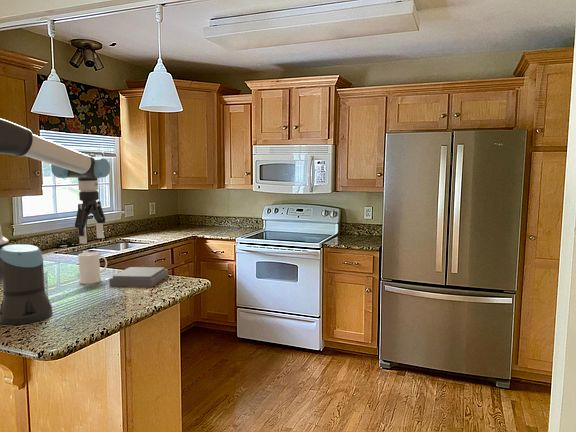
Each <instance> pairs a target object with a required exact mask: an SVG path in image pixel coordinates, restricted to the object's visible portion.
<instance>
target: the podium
mask: <svg viewBox="0 0 576 432" xmlns="http://www.w3.org/2000/svg"><path fill="white" fill-rule="evenodd" d="M167 277H169V268H165V267H162V266H161V267H160V266H159V267H157V266H156V267H152V266H151V267H150V266H146V267H145V266H129V267H127V268H125V269H124V270H122V271H120V272H118V273H116V274H114V275H112V277H110V278H109V287H138V288H139V287H142V288H143V287H146V288H148V287H149V288H150V287H151V288H152V287H154V286H156V285H157V284H159V283H160V282H162V281H163V280H164V279H167Z"/></svg>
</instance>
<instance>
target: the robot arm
mask: <svg viewBox="0 0 576 432" xmlns="http://www.w3.org/2000/svg"><path fill="white" fill-rule="evenodd" d="M0 154H1V155H11V156H15V157H18V158H20V157H22V158H23V157H28V158H31V159H33V160H37V161H40V162H43V163H46V164H48V165H49V164H50V165H51V166H50V167H51V172H52V173H51V174H53V176H54V177H55V178H59V179H70V178H71V179H72V178H73V179H74V178H75V179H77V181H78V182H77V184H78V191H79V192H78V197H79V201H80V202H81V201H82V203H78V204H77V211H76V217H75V223H74V227H75V229H78V236H79V238H78V239H79V244H80V245H87V244H88V240H87V228H86V227H85V226H86V225H87V221H88V218H89V216H90V215H91V214H92V217H94V219H95V221H96V223H95V227H96V228H95V230H96V238H97V239H104V237H105V236H104V224H105V223H106V216H105V213H104V210H103V207H102V203H101V200H99V199H100V193H99V180H98V179H101V178H105V177H107V176H109V174H110V171H111V165H110V164H111V163H110V162H109V161H108V159H106V158H105V157H104V158H103V157H97V156H96V154H94V153H82V152H80V151H77V150H74V149H72V148H69V147H67V146H64V145H62V144H59V143H56V142H54V141H51V140H49V139H46V138H44V137H41V136H38V135H37V134H34V133H33V132H32V131H31V129H29V128H27V127H24V126H22V125H19V124H17V123H14V122H12V121H9V120H6V119H3V118H1V117H0ZM44 273H45V272H44V258H43V253H42V250H41V248H40V247H38V246H36V245H33V244H26V243H25V244H19V243H18V244H17V243H16V244H10V239H9V238H7V237H5V236H4V235H3V231H2V226H1V224H0V285H2V293H3V294H2V295H3V297H2V300H1V305H0V324H2V325H10V326H11V325H12V326H14V325H15V326H16V325H25V324H30V323H36V322H38V321H39V322H40V321H42V320H44V319H47V318H49V317H51V316H52V314H53V306H52V304H51V302H50V299H49V297H48V295H47V293H46V291H45V274H44Z"/></svg>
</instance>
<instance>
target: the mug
mask: <svg viewBox="0 0 576 432" xmlns="http://www.w3.org/2000/svg"><path fill="white" fill-rule="evenodd" d="M77 257H78V271H79V283H80V284H83V285H90V284H96V283H99V282H101V281H102V277H101V274H102V273H103V272H104V271H106V270H107V267H108V261H107V258H106V257H105V256H104V255H101V254H100V253H99V252H98V251H87V252H82V253H79V254H77ZM100 258H102V259H103V260H104V261H105V266H104V267H103V269H101V265H100Z"/></svg>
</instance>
